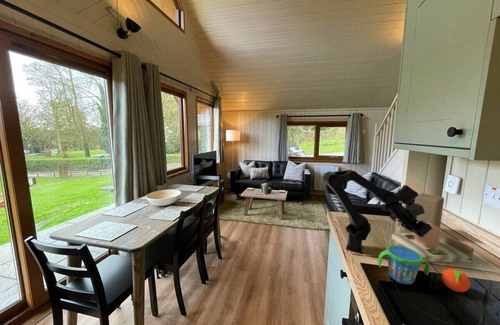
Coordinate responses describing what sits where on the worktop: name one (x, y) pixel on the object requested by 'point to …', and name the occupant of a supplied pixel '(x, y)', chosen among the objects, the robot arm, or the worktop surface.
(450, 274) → the clementine
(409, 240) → the beige flat square piece
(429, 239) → the terracotta block
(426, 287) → the worktop surface
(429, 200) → the wooden block
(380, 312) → the worktop surface
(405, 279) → the snack cup
